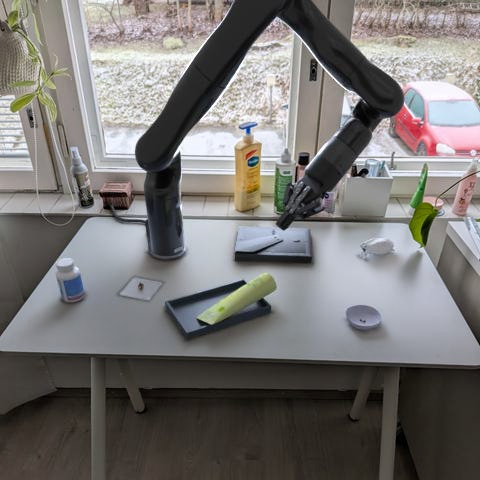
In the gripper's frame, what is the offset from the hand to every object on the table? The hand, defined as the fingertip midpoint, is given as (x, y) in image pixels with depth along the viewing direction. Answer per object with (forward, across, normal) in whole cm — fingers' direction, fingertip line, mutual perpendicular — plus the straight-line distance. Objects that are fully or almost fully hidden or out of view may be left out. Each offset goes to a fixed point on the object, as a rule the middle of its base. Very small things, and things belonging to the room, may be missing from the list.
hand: (279, 227), depth 112 cm
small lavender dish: (+4, +18, +21) cm, 29 cm away
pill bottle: (+44, -22, -18) cm, 53 cm away
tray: (+24, -1, +2) cm, 24 cm away
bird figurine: (-11, -4, +37) cm, 39 cm away
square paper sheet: (+33, -18, -7) cm, 38 cm away
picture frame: (+5, -20, +21) cm, 29 cm away
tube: (+11, +1, +8) cm, 13 cm away
